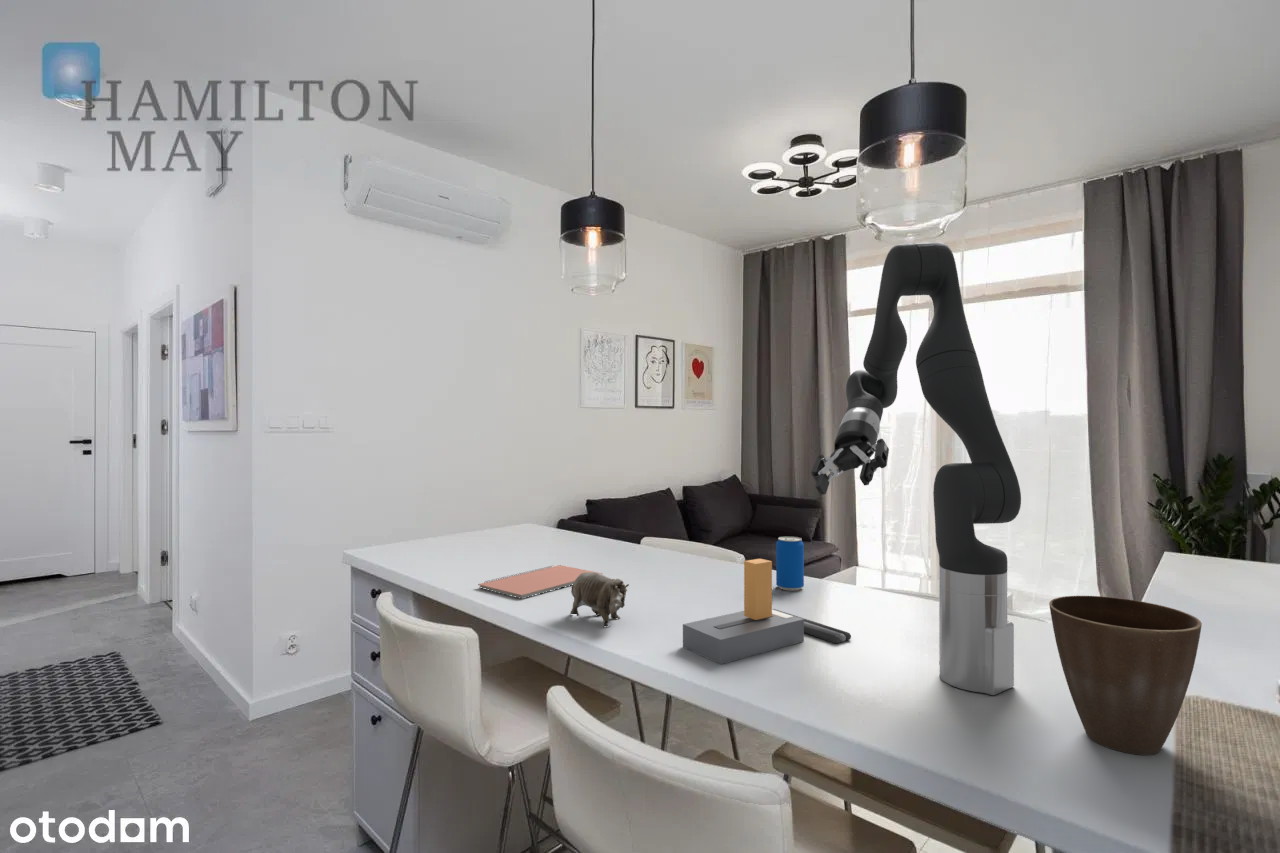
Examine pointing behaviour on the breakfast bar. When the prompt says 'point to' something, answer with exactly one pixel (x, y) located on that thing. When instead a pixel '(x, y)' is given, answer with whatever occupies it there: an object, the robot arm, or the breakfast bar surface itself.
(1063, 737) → the breakfast bar surface
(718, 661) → the breaker box
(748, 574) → the handle
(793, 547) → the beverage can
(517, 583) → the notebook
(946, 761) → the breakfast bar surface
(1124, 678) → the plant pot
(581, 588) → the rhinoceros figurine
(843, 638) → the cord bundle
